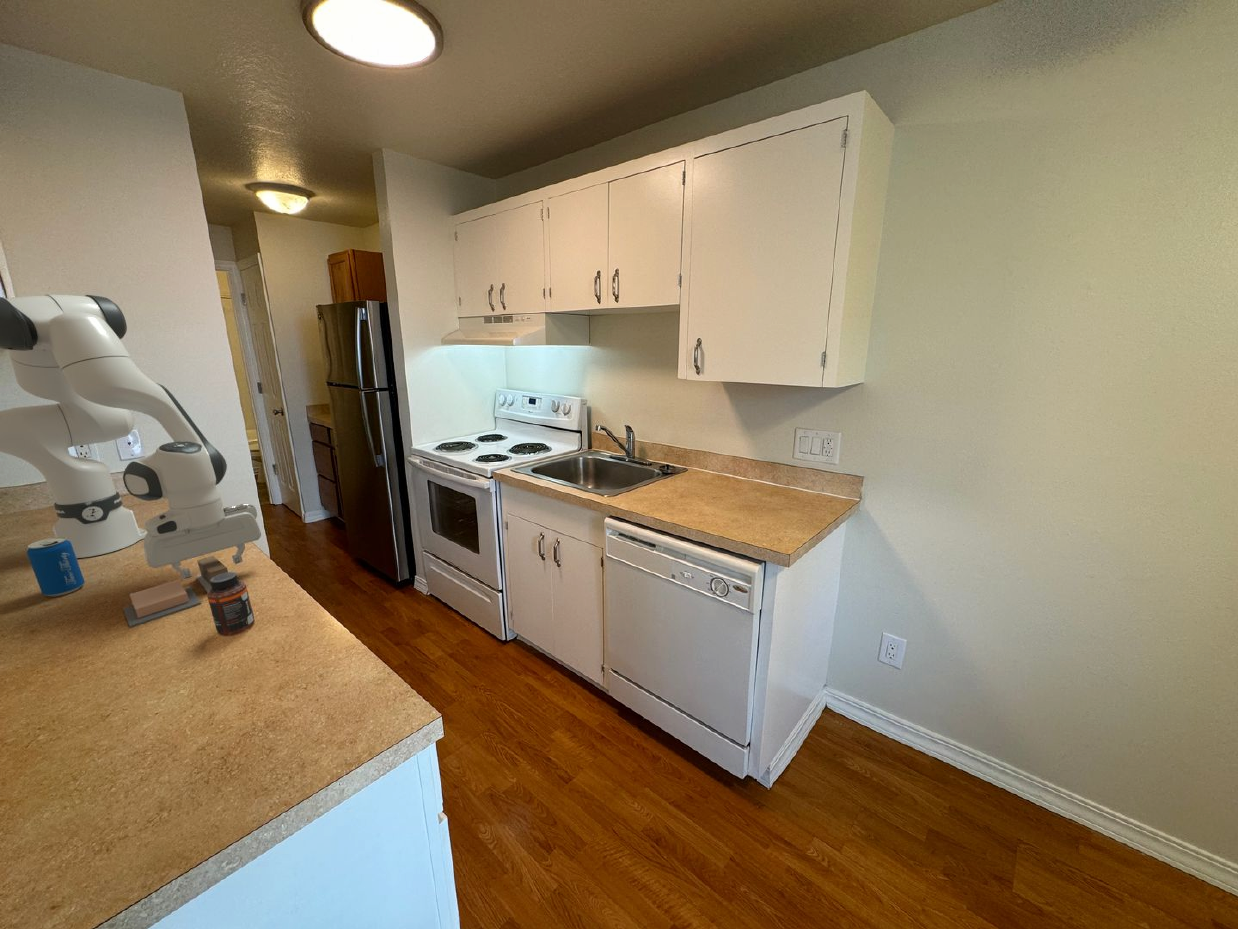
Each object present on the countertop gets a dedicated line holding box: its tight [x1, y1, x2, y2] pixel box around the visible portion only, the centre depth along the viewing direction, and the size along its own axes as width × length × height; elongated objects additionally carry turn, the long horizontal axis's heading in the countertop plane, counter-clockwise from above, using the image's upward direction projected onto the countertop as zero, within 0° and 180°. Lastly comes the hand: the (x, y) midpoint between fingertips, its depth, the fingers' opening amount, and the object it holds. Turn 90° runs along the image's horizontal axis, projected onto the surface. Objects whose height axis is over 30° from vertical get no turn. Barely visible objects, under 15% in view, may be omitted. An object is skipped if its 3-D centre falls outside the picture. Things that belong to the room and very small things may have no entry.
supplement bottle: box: [207, 571, 255, 637], centre depth 94 cm, size 6×6×11 cm
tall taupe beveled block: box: [196, 555, 229, 585], centre depth 112 cm, size 10×3×4 cm, turn 53°
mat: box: [122, 586, 202, 628], centre depth 103 cm, size 10×11×1 cm
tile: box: [129, 579, 189, 618], centre depth 103 cm, size 2×8×9 cm
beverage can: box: [26, 536, 86, 598], centre depth 108 cm, size 6×6×12 cm
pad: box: [196, 573, 212, 593], centre depth 113 cm, size 12×5×1 cm, turn 50°
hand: (213, 569), depth 112 cm, fingers open, 8 cm apart
